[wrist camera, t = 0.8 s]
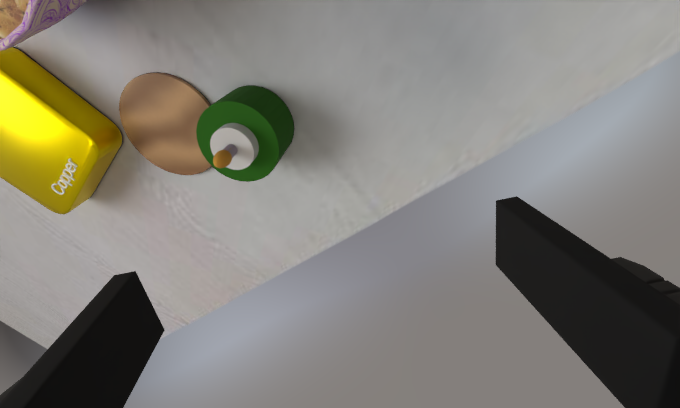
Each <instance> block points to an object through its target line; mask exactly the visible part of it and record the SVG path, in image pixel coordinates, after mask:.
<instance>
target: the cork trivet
mask: <svg viewBox="0 0 680 408" xmlns="http://www.w3.org/2000/svg"><path fill="white" fill-rule="evenodd" d="M209 106H211V105H210V103H209V102H208V101H207V99H206V98H205V97H204V96H203V95H202V94H201V93H200V92H199V91H198V90H197V89H196V88H194V87H193V86H192V85H190V84H189V83H187V82H185V81H184V80H182V79H180V78H178V77H175V76H172V75H169V74H165V73H146V74H143V75H140V76H138V77H136V78H134V79H133V80H131V81H130V82H129V83H128V84H127V85H126V87H125V88H124V90H123V92H122V94H121V98H120V103H119V111H120V118H121V122H122V125H123V128H124V130H125V132H126V134H127V136H128V138H129V139H130V141H131V143H132V144H133V145H134V146H135V148H136V149H137V150H138V151H139V152H140V153H141V154H142V155H143V156H144V157H145V158H146V159H147V160H149V161H150V162H151V163H153V164H154V165H156V166H158V167H160V168H162V169H164V170H166V171H168V172H172V173H175V174H181V175H193V174H198V173H201V172H203V171H205V170H207V169H208V168H210V167H211V165H210V164H209V162H208V161H207V160H206V159H205V157H204V156H203V154H202V152H201V150H200V148H199V145H198V141H197V135H196V129H197V123H198V120H199V118H200V116H201V114H202V113H203V112H204V110H206V109H207V108H208V107H209Z"/></svg>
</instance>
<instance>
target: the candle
mask: <svg viewBox="0 0 680 408" xmlns="http://www.w3.org/2000/svg"><path fill="white" fill-rule="evenodd" d="M196 135H197V141H198V145H199V148H200V150H201V152H202V154H203V156H204V157H205V159H206V160H207V161H208V162H209V164H210V165H211V166H212V167H213V168H215V169H216V170H217V171H218V172H220V173H221V174H223V175H225V176H227V177H229V178H231V179H234V180H239V181H248V182H249V181H256V180H259V179H262V178H264V177H265V176H267V175H268V174H269V173H270V172H271V171H272V170H273V169H274V167H275V166H276V164H277V163H278V162H279V160H280V159H281V157H282V156H283V154H284V153H285V151H286V150H287V148H288V147H289V145H290V143H291V142H292V139H293V135H294V123H293V119H292V115H291V113H290V111H289V109H288V107H287V106H286V104H285V103H284V102H283V100H281V99H280V98H279V97H278V96H277V95H276V94H274V93H273V92H271V91H270V90H268V89H265V88H263V87H259V86H243V87H239V88H237V89H235V90H233V91H232V92H230V93H229V94H227V95H226V96H224V97H223V98H221V99H220V100H218V101H217V102H215V103H214V104H212V105H211V106H209V107H208V108H207V109H206V110H204V112H203V113H202V114H201V116H200V118H199V120H198V123H197V129H196Z"/></svg>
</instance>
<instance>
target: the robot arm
mask: <svg viewBox="0 0 680 408" xmlns="http://www.w3.org/2000/svg"><path fill="white" fill-rule="evenodd" d="M496 265H497V267H498V268H499V269H500V270H501V271H502V272H503V273H504V274H505V275H506V276H507V277H508V279H509V280H510V281H511V282H512V283H513V284H514V285H515V286H516V288H517V289H518V290H519V291H520V292H521V293H522V294H523V295H524V296H525V297H526V299H527V300H528V301H529V302H530V303H531V304H532V305H533V306H534V307H535V309H536V310H537V311H538V312H539V313H540V314H541V315H542V316H543V317H544V318H545V320H546V321H547V322H548V323H549V324H550V325H551V326H552V327H553V328H554V330H555V331H556V332H557V333H558V334H559V335H560V336H561V337H562V338H563V340H564V341H565V342H566V343H567V344H568V345H569V346H570V347H571V348H572V350H573V351H574V352H575V353H576V354H577V355H578V356H579V357H580V358H581V359H582V361H583V362H584V363H585V364H586V365H587V366H588V367H589V368H590V369H591V370H592V372H593V373H594V374H595V375H596V376H597V377H598V378H599V379H600V380H601V381H602V383H603V384H604V385H605V386H606V387H607V388H608V389H609V390H610V391H611V393H612V394H613V395H614V396H615V397H616V398H617V399H618V400H619V402H620V403H622V405H623V406H624V407H625V408H680V288H679V287H677V286H676V285H674V284H672V283H671V282H669V281H665V280H664V278H663V277H661V276H660V275H658V274H656V273H654V272H653V271H651V270H650V269H648V268H647V267H645V266H643V265H640V264H637V263H635V262H632V261H629V260H627V259H624V258H621V257H618V258H614V259H610V258H609V257H607V256H606V255H604V254H603V253H601V252H600V251H598V250H596V249H595V248H594V247H592V246H591V245H589V244H588V243H586V242H585V241H583V240H582V239H580V238H579V237H577V236H575V235H574V234H573V233H571V232H570V231H568V230H566V229H565V228H564V227H562V226H560V225H559V224H558V223H556V222H554V221H553V220H551V219H550V218H548V217H547V216H545V215H544V214H542V213H541V212H539V211H538V210H536V209H535V208H533V207H532V206H530V205H529V204H527V203H526V202H524V201H523V200H521V199H520V198H518V197H512V198H507V199H502V200H497V201H496ZM163 332H164V328H163V326H162V324H161V322H160V320H159V318H158V316H157V314H156V312H155V310H154V308H153V306H152V304H151V302H150V300H149V298H148V296H147V294H146V292H145V290H144V288H143V286H142V284H141V282H140V280H139V278H138V275H137V273H136V271H134V272H129V273H124V274H119V275H114V276H113V277H112V278H111V280H110V281H109V282H108V283H107V284H106V285H105V286H104V287H103V289H102V290H101V291H100V292H99V293H98V294H97V295H96V296H95V297H94V299H93V300H92V301H91V302H90V303H89V304H88V305H87V306H86V307H85V309H84V310H83V311H82V312H81V313H80V314H79V315H78V316H77V318H76V319H75V320H74V321H73V322H72V323H71V324H70V325H69V326H68V328H67V329H66V330H65V331H64V332H63V333H62V334H61V335H60V336H59V338H58V339H57V340H56V341H55V342H54V343H53V344H52V345H51V346H50V348H49V349H48V350H47V351H46V352H45V353H44V354H43V355H42V357H41V358H40V359H39V360H38V361H37V362H36V364H34V365H33V367H32V368H31V369H30V370H29V371H28V372H27V373H26V374H25V376H24V377H22V378H21V379H20V380H19V381H17V382H16V383H15V384H14V385H12V386H11V387H10V388H9V389H7V390H6V391H5V392H4V393H2V394H1V395H0V408H123V407H124V405H125V403H126V401H127V399H128V397H129V395H130V394H131V392H132V390H133V388H134V386H135V384H136V382H137V380H138V378H139V377H140V375H141V373H142V371H143V369H144V367H145V366H146V364H147V362H148V360H149V358H150V356H151V354H152V352H153V350H154V349H155V347H156V345H157V343H158V341H159V339H160V337H161V335H162V334H163Z"/></svg>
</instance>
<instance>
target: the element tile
mask: <svg viewBox="0 0 680 408" xmlns="http://www.w3.org/2000/svg"><path fill="white" fill-rule="evenodd" d="M121 144H122V135H121V132H120V130H119V129H118V128H117V126H116V125H115V124H114V123H113V122H112V121H110V120H109V119H108V118H107V117H105V116H104V115H103V114H101V113H100V112H99V111H98V110H96V109H95V108H94V107H92V106H91V105H90V104H89V103H87V102H86V101H85V100H83V99H82V98H81V97H80V96H78V95H77V94H76V93H74V92H73V91H72V90H70V89H69V88H68V87H67V86H65V85H64V84H63V83H61V82H60V81H59V80H58V79H56V78H55V77H54V76H52V75H51V74H50V73H49V72H47V71H46V70H45V69H43V68H42V67H41V66H40V65H38V64H37V63H36V62H34V61H33V60H32V59H31V58H29V57H28V56H27V55H25V54H24V53H23V52H21V51H20V50H18V49H16V48H13V47H10V48H8V49H6V50H2V51H0V177H1V178H2V179H4V180H5V181H7V182H8V183H10V184H11V185H13V186H14V187H16V188H17V189H19V190H20V191H22V192H23V193H25V194H26V195H28V196H30V197H31V198H33V199H34V200H36V201H37V202H39V203H40V204H42V205H43V206H45V207H46V208H48V209H49V210H51V211H53V212H55V213H58V214H66V213H68V212H70V211H71V210H73V209H74V208H76V207H77V206H79V205H80V204H81V203H83V202H84V201H86V200H87V199H89V198H90V197H91V196H92V194H93V193H94V191H95V189H96V187H97V186H98V184H99V182H100V181H101V179H102V177H103V175H104V174H105V172H106V170H107V169H108V167H109V165H110V163H111V162H112V160H113V158H114V157H115V155H116V153H117V151H118V150H119V148H120V146H121Z"/></svg>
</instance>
